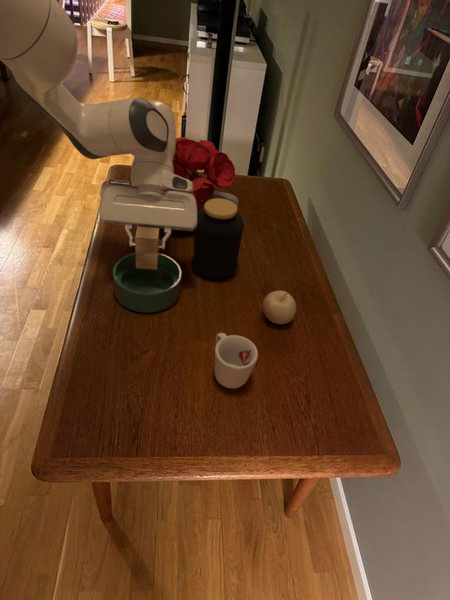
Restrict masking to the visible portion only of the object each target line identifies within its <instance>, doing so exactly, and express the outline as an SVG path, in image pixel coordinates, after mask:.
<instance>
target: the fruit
mask: <svg viewBox="0 0 450 600" xmlns="http://www.w3.org/2000/svg"><path fill="white" fill-rule="evenodd" d="M261 308H262V309H261V310H262V312H263V314H264V317H266V318H267V320H269V321H270V322H271V323H273V324H275V325H284V324H288V323H290V322H291V321H292V320H293V319H294V317H295V315H296V313H297V304H296V301H295V299H294V297H293V296H292V295H291V294H290V293H289V292H287V291H285V290H279V289H278V290H274V291H271V292H269V293H268V294H266V296H265V297H264V298H263V300H262V304H261Z"/></svg>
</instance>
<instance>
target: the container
mask: <svg viewBox="0 0 450 600" xmlns="http://www.w3.org/2000/svg"><path fill="white" fill-rule="evenodd" d="M203 206H204V209H202V210H200V211H199V212H198V213H197V227H196V229H195V230H194V231H193V232H194V235H193V256H192V258H191V264H192V267H193V268H194V270H195V271H197V272H198V274H200V275H202V276H203V277H205V278H206V277H207V278H211V279H222V278H227V277H229V276H231V275H233V274H234V273H235V271H236V270H237V268H238V266H239V264H238V263H239V262H238V258H239V253H240V247H241V242H242V237H243V232H244V228H245V220H244V218H243V217H242V215H241V214H240V213H238V210H239V209H238V205H237V206H236V204H234V203H233V202H232V201H229V200H226V199H219V198H217V199H208V200H207V201H206V202H205V203H204V204H203Z"/></svg>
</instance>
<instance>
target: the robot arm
mask: <svg viewBox="0 0 450 600" xmlns="http://www.w3.org/2000/svg"><path fill="white" fill-rule="evenodd" d="M78 42H79V41H78V35H77V31H76V27H75V25H74V22H73V21H72V19H71V18H70V16H69V13H67V11H66V10H65V8H64V7H63V6H62V4H61V3H60V2H59V1H58V0H0V61H1V62H2V63H3V65H5V66H6V67H7V71H8V74H9V77H10V79H11V81H12V82H13V84H14V86H16V87H17V88H18V91H20V92H21V94H22V95H24V96H25V97H26V98H27V99H28V100H29V101H30V103H32V104H33V105H34V106H35V107H36V108H37V109H38V110H39V111H41V113H42V114H43V115H44V116H45V117H46V118H48V119H49V120H50V121H51V122H52V123H53V124H54V125H55V126H57V127H58V128H59V129H60V131H61V132H62V133H64V134H65V136H66V137H67V138H68V140H69V141H70V143H71V144H72V145H73V147H74V148H75V149H76V150H77V151H78V152H79V153H80V155H82V156H83V157H85V158H86V159H88V160H99V159H104V158H107V157H113V156H123V155H130V154H131V155H132V156H133V160H132V163H131V173H130V180H125V179H124V180H123V179H115V178H109V179H108V180H105V181H103V182H102V184H101V185H100V197H101V202H100V206H99V214H98V215H99V216H98V217H99V219H100V220H101V222H102V223H104V224H106V225H115V226H116V225H118V226H124V229H125V232H126V234H127V236H128V238H129V244H128V245H129V247H130V248H135V237H133V234H132V232H133V231H134V227H137V226H138V225H143V226H155V227H159V229H163V230H164V231H163V232H164V234H165V235H164V236H163V237H162V239H159V240H158V249H159V250H161V251H163V250H166V243H167V241H168V240H169V238H170V237H171V235H172V230H173V231H184V232H195V229H196V227H197V204H196V200H195V197H194V196H193V183H192V182H191V181H189V180H187V179H185V178H182V177H180V176H178V175H175V174H174V167H173V157H174V155H175V148H176V138H177V127H176V119H175V114H174V111H173V109H171V107H169V105H167V104H165V103H164V102H162V101H159V100H153V99H152V100H151V99H150V100H147V99H145V98H143V97H130V98H129V97H128V98H124V99H117V100H111V101H106V102H100V103H85V102H80V101H79V100H77V99H76V98H75V97H74V95H73V94H72V93H71V92H70V90H68V88H67V87H66V86H65V85H64V84H63V83H64V82H65V81H66V80H67V79H68V78H69V76H70V74H71V73H72V72H73V69H74V66H75V64H76V61H77V56H78V51H79V49H78V47H79V44H78Z"/></svg>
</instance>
